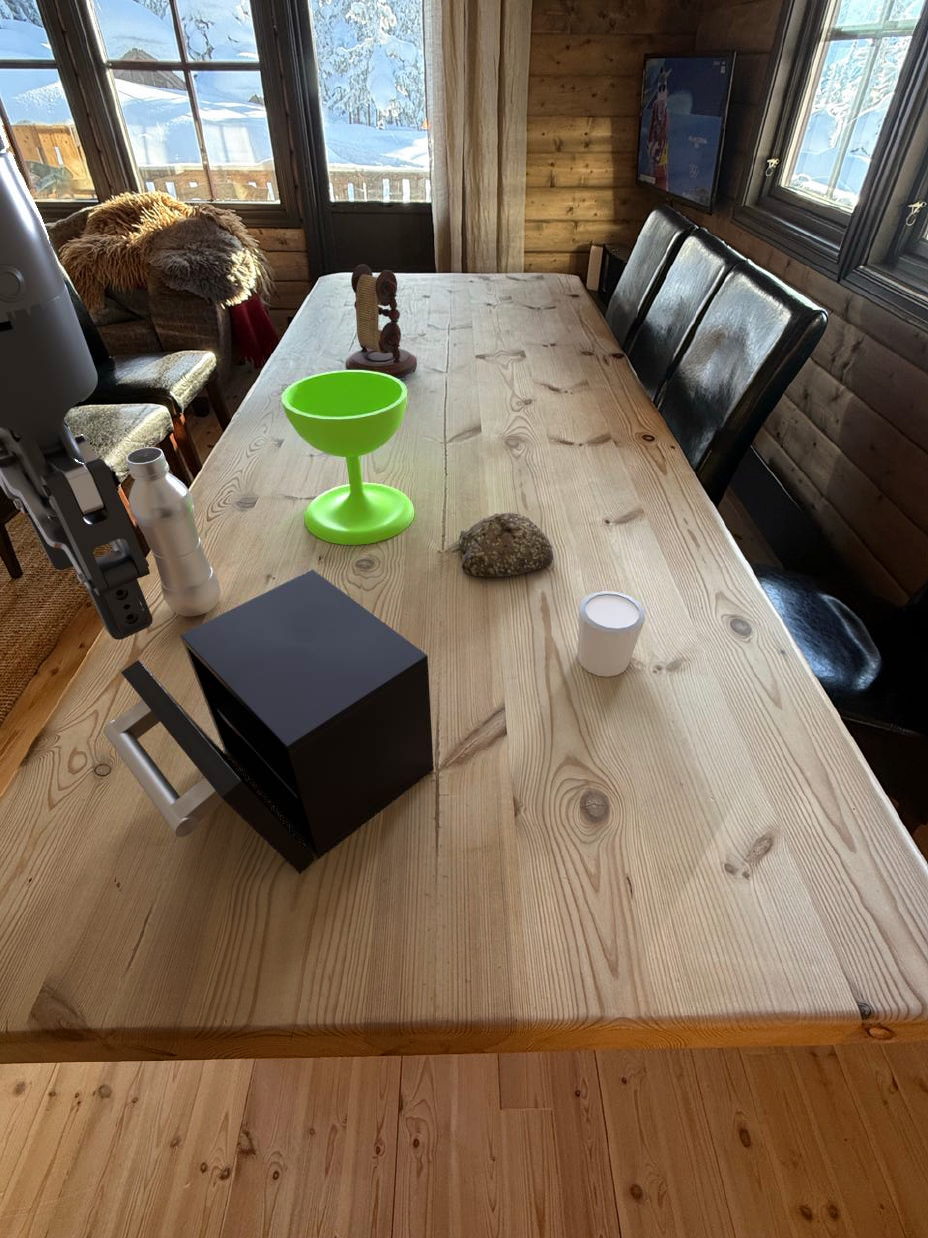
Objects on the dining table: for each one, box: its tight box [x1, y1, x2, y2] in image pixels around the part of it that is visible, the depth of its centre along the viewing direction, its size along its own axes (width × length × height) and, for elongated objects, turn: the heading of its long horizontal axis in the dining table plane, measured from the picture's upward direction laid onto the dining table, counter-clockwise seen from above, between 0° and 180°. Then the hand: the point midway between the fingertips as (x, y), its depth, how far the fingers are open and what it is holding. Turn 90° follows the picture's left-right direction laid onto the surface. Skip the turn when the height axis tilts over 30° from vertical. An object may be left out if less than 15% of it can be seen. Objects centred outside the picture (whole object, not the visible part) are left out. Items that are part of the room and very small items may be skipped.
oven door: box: [103, 659, 315, 874], centre depth 52 cm, size 5×16×15 cm, turn 44°
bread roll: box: [457, 512, 554, 578], centre depth 87 cm, size 13×12×5 cm
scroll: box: [344, 264, 418, 379], centre depth 131 cm, size 15×15×20 cm
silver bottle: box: [125, 446, 221, 617], centre depth 74 cm, size 6×7×20 cm
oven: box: [179, 568, 435, 860], centre depth 58 cm, size 13×16×15 cm
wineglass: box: [281, 369, 416, 546], centre depth 90 cm, size 16×16×18 cm
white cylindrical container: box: [577, 590, 646, 678], centre depth 71 cm, size 7×7×7 cm
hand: (101, 594), depth 38 cm, fingers open, 8 cm apart
